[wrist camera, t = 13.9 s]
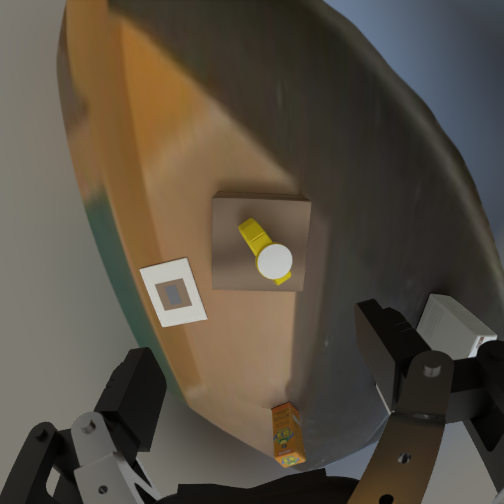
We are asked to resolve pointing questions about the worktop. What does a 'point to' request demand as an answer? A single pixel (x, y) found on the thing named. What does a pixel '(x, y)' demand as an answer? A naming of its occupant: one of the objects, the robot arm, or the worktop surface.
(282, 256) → the watch
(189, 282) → the card
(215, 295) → the worktop surface
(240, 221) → the walnut block
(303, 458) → the supplement box
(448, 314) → the skincare box
